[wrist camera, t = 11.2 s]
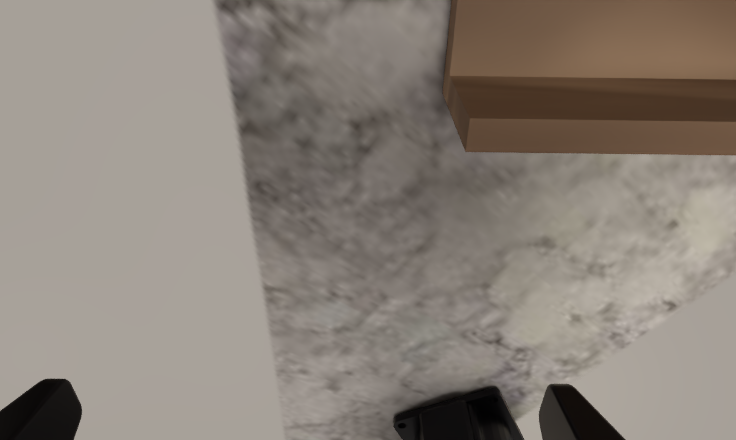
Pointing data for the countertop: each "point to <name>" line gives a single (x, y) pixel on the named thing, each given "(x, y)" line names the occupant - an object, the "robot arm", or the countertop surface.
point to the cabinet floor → (593, 76)
